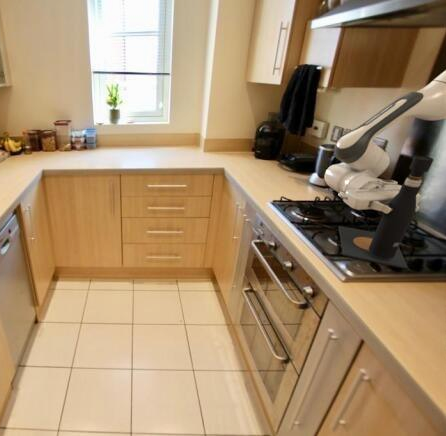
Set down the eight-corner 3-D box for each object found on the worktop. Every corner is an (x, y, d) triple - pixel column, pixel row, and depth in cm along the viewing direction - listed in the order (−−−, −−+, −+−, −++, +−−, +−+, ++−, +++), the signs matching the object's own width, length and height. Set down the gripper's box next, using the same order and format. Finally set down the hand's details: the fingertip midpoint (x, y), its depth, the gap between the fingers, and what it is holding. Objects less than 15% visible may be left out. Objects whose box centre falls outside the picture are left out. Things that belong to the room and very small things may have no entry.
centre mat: (393, 237, 108) (394, 235, 107) (407, 269, 92) (408, 267, 92) (338, 227, 114) (339, 225, 114) (342, 255, 99) (343, 253, 99)
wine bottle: (371, 244, 101) (410, 152, 86) (396, 252, 96) (442, 157, 82) (365, 252, 97) (405, 157, 83) (391, 261, 93) (438, 163, 78)
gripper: (337, 183, 99) (372, 202, 87) (398, 180, 100) (441, 198, 88) (331, 201, 102) (364, 222, 90) (391, 198, 103) (431, 217, 91)
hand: (403, 210), depth 89 cm, fingers closed on wine bottle, 6 cm apart
